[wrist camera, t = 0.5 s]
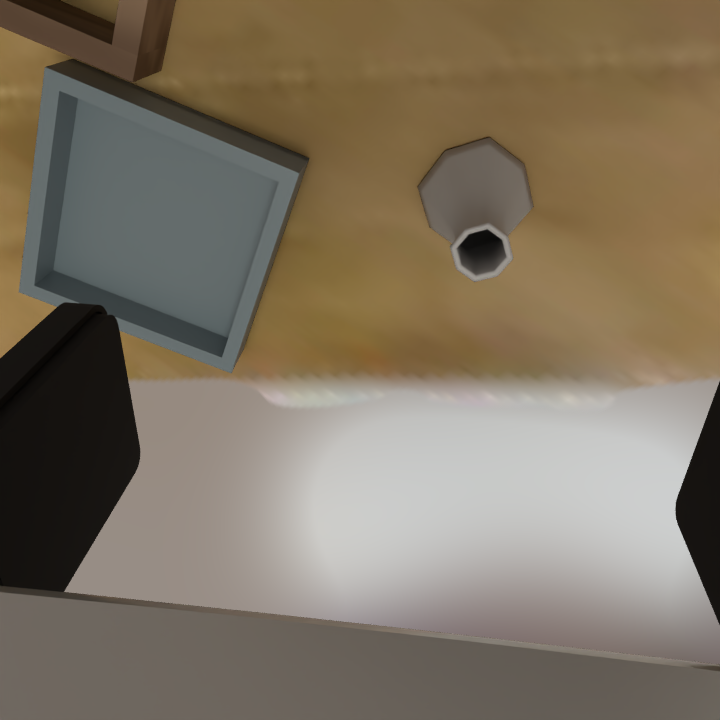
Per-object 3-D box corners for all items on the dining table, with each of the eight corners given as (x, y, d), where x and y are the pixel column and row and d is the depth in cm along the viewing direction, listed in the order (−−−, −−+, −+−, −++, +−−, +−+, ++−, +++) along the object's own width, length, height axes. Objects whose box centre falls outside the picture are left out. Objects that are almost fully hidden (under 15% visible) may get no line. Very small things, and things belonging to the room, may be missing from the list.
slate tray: (73, 58, 42) (44, 67, 39) (309, 158, 44) (299, 173, 41) (44, 272, 51) (18, 292, 48) (243, 349, 52) (231, 373, 49)
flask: (398, 182, 44) (386, 237, 36) (494, 115, 41) (505, 157, 33) (458, 266, 47) (460, 336, 38) (552, 208, 44) (577, 270, 36)
